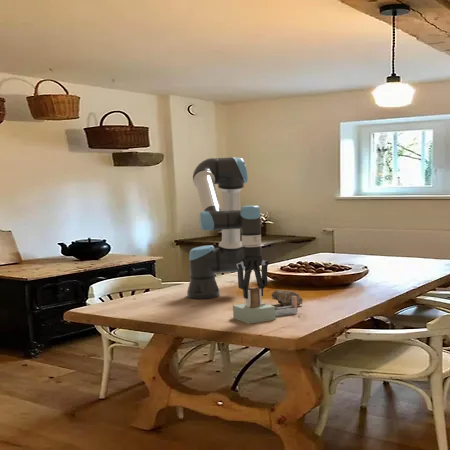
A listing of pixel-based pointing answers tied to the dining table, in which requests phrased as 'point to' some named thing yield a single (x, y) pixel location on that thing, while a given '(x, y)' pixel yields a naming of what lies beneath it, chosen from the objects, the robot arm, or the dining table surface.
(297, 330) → the dining table surface
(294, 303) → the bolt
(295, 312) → the block
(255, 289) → the peg
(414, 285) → the dining table surface
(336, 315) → the dining table surface
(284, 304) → the rock
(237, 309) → the block
